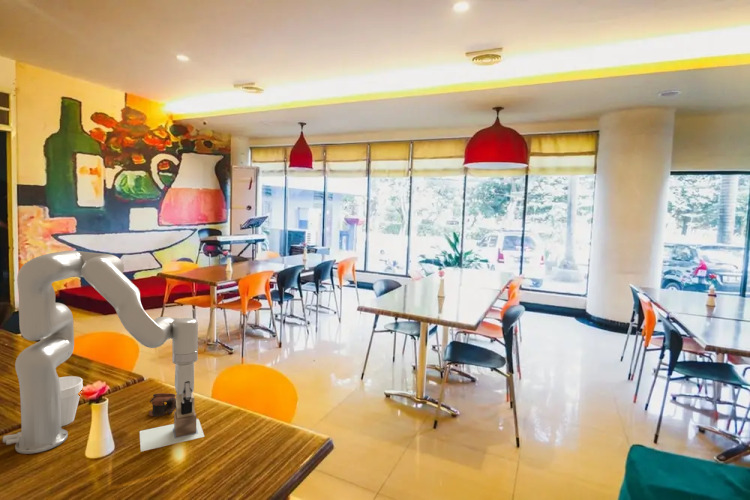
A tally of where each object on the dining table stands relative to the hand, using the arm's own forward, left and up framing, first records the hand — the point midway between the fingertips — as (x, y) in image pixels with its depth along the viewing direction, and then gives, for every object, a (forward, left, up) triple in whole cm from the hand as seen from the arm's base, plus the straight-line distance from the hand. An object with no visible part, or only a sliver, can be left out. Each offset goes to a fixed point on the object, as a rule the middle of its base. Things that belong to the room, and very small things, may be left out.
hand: (185, 408), depth 133 cm
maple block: (0, 0, -2) cm, 2 cm away
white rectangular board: (-4, 0, -9) cm, 10 cm away
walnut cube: (0, 0, -8) cm, 8 cm away
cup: (-36, +26, -9) cm, 45 cm away
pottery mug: (-5, +18, -9) cm, 21 cm away
